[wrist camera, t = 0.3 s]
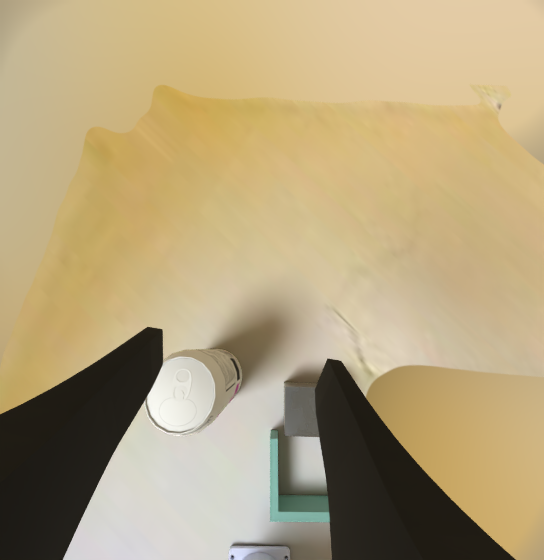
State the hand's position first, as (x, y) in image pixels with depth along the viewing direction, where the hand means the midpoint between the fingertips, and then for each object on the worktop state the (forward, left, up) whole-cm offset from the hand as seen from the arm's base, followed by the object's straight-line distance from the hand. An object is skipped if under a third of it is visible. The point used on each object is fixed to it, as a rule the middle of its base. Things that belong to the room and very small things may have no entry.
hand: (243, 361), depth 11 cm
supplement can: (-4, +8, -29) cm, 31 cm away
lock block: (-8, -6, -29) cm, 31 cm away
